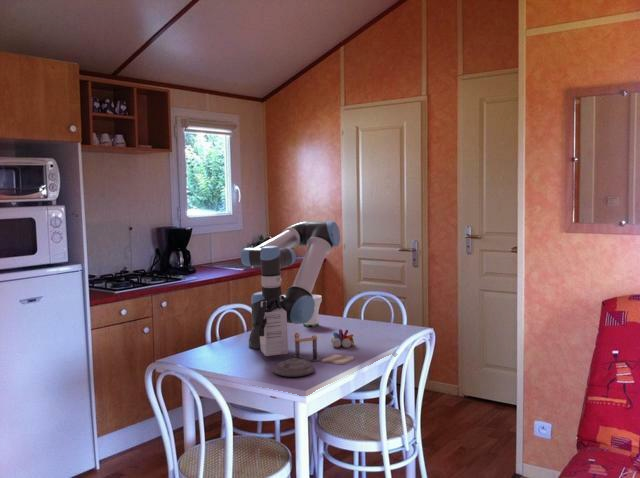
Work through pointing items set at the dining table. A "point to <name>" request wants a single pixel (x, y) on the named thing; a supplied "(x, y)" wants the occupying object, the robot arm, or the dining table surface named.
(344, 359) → the coaster
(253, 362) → the dining table surface
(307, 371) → the flying saucer
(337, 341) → the rainbow disc toy
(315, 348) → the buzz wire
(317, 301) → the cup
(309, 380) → the dining table surface
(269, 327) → the supplement box
